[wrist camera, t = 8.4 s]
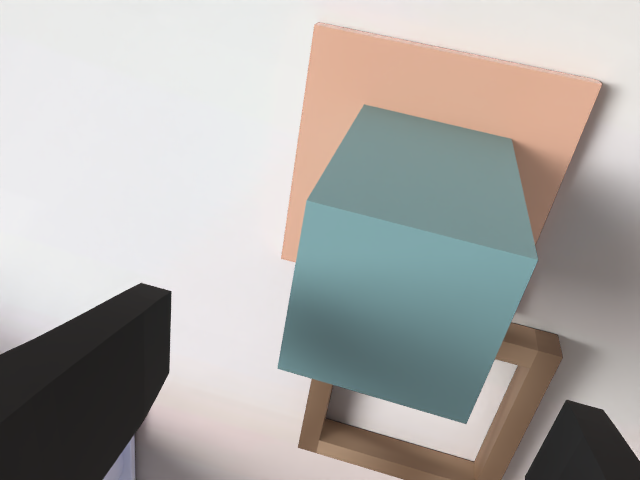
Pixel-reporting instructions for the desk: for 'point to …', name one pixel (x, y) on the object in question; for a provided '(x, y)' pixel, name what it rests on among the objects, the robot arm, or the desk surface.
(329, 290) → the teal block
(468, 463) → the pocket frame
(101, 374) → the robot arm
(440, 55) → the terracotta tile
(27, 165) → the desk surface
